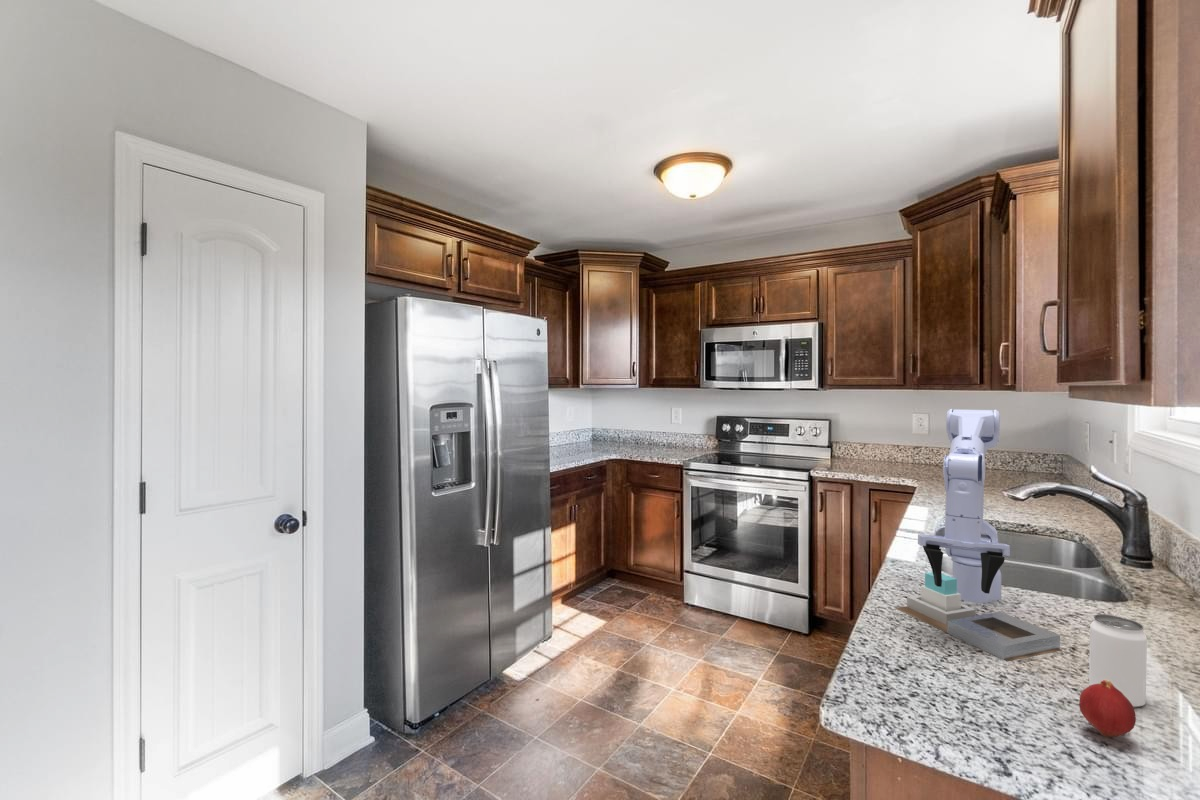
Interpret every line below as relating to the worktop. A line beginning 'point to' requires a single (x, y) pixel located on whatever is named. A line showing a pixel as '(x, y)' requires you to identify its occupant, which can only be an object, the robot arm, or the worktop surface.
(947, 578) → the plug
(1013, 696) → the worktop surface
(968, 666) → the worktop surface
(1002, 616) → the port
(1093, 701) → the onion
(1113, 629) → the can
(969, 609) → the grey rectangular frame
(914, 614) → the panel board
